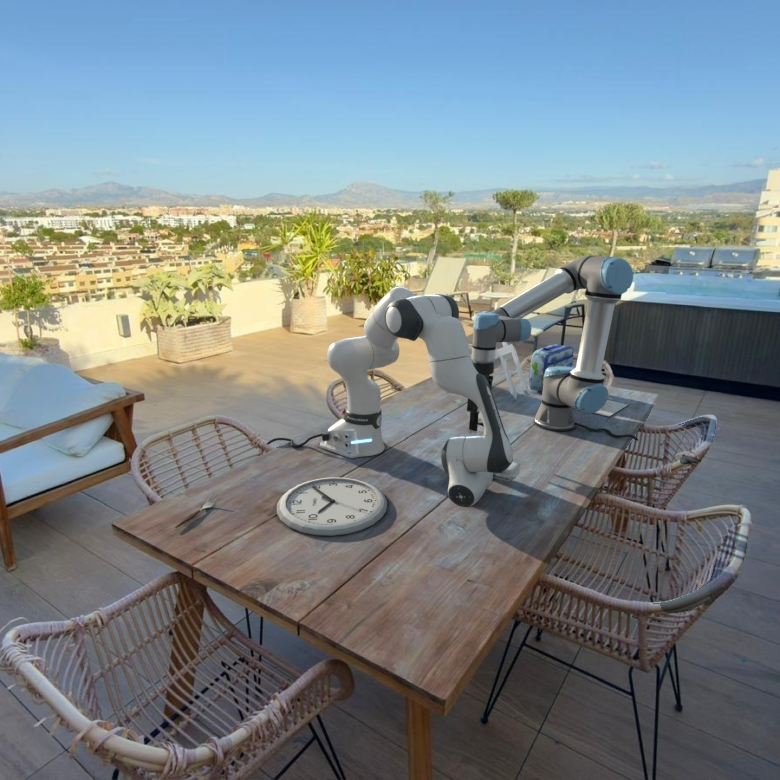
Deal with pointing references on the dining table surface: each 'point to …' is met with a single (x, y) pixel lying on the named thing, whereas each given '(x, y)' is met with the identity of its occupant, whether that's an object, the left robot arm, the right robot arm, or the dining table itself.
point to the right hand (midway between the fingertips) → (477, 427)
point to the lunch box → (548, 363)
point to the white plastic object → (502, 357)
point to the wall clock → (331, 506)
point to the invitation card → (610, 408)
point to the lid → (479, 419)
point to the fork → (206, 505)
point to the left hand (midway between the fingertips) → (490, 454)
